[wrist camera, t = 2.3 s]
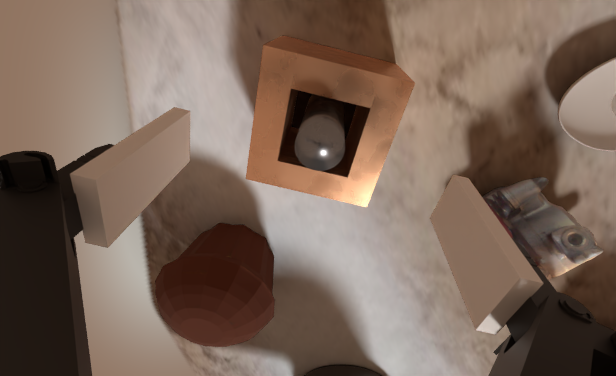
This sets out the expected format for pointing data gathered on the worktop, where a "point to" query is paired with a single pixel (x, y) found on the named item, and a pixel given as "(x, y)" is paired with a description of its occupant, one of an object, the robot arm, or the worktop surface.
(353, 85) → the collar
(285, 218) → the worktop surface
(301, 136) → the stand rod
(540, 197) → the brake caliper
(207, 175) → the worktop surface
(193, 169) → the worktop surface
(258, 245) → the muffin
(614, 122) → the spoon
